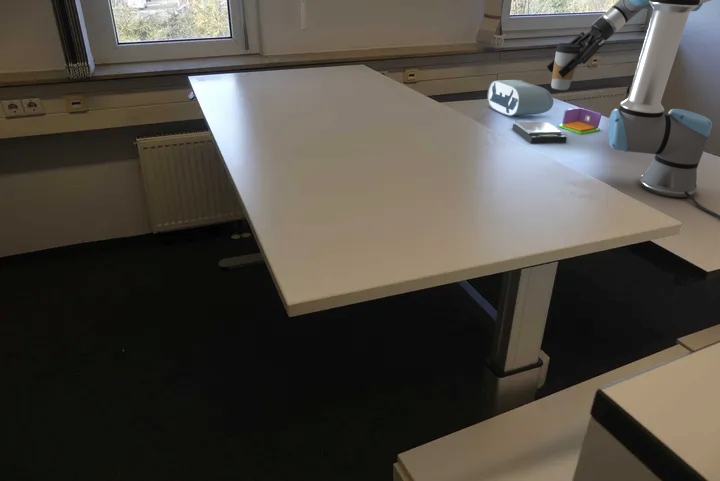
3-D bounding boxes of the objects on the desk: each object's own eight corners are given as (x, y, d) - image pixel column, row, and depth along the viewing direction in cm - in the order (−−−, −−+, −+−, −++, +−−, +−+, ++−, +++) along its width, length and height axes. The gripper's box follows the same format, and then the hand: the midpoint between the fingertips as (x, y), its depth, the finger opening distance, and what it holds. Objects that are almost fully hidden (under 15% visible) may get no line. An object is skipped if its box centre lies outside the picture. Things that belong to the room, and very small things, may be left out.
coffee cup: (573, 91, 189) (583, 47, 182) (549, 89, 190) (558, 45, 183) (570, 86, 196) (579, 43, 189) (546, 84, 197) (555, 42, 190)
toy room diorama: (576, 122, 222) (579, 106, 218) (600, 130, 213) (605, 113, 210) (557, 126, 216) (560, 109, 213) (581, 134, 207) (586, 117, 204)
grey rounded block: (485, 106, 238) (489, 77, 232) (519, 104, 245) (524, 75, 239) (515, 120, 221) (521, 89, 214) (551, 117, 227) (558, 87, 221)
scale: (565, 143, 197) (567, 134, 196) (530, 143, 195) (532, 135, 194) (545, 129, 212) (546, 121, 210) (512, 129, 210) (513, 121, 208)
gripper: (629, 38, 177) (574, 86, 183) (596, 29, 195) (546, 73, 201) (619, 20, 174) (563, 70, 179) (586, 13, 192) (536, 58, 197)
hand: (554, 72), depth 190 cm, fingers closed on coffee cup, 8 cm apart
